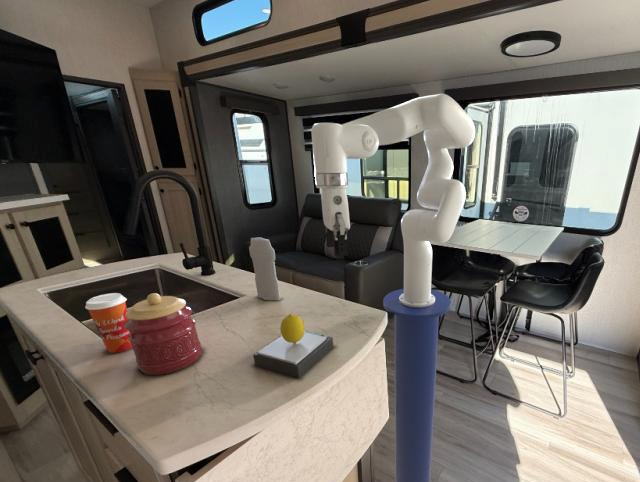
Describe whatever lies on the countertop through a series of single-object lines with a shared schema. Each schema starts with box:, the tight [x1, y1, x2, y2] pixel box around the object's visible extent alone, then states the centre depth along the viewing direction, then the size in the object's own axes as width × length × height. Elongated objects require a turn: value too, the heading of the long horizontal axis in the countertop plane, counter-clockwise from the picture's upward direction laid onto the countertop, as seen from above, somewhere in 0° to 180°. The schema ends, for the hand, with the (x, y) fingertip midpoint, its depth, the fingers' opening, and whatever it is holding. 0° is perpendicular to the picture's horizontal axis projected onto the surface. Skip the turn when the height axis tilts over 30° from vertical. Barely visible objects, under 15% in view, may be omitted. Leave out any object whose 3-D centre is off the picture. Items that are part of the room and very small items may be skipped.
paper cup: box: [85, 292, 133, 354], centre depth 81 cm, size 8×8×14 cm
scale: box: [252, 329, 334, 379], centre depth 79 cm, size 14×13×4 cm
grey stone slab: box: [248, 237, 281, 301], centre depth 110 cm, size 11×4×22 cm, turn 69°
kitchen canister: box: [124, 292, 202, 376], centre depth 75 cm, size 13×13×18 cm
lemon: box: [279, 313, 306, 344], centre depth 77 cm, size 6×6×8 cm
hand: (336, 250), depth 82 cm, fingers open, 9 cm apart
